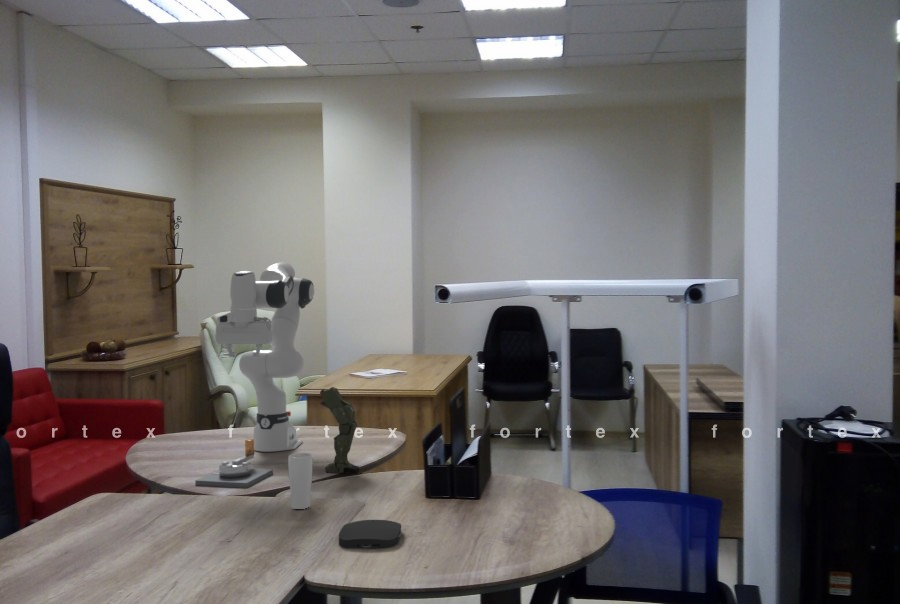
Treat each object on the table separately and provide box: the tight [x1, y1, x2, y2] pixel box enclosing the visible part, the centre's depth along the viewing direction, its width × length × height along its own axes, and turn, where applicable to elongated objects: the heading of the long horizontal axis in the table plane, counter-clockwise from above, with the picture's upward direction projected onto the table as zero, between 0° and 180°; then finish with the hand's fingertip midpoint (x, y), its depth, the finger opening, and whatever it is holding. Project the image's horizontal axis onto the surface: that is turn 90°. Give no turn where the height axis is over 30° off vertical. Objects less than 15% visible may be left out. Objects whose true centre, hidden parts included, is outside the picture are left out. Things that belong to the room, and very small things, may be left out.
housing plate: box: [194, 468, 274, 489], centre depth 239 cm, size 18×18×2 cm
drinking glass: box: [287, 452, 314, 510], centre depth 206 cm, size 7×7×15 cm
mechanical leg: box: [319, 386, 360, 474], centre depth 249 cm, size 14×7×30 cm, turn 85°
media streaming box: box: [338, 519, 402, 549], centre depth 180 cm, size 15×15×3 cm
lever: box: [218, 438, 255, 478], centre depth 242 cm, size 16×10×9 cm, turn 167°
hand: (244, 357), depth 253 cm, fingers open, 8 cm apart
